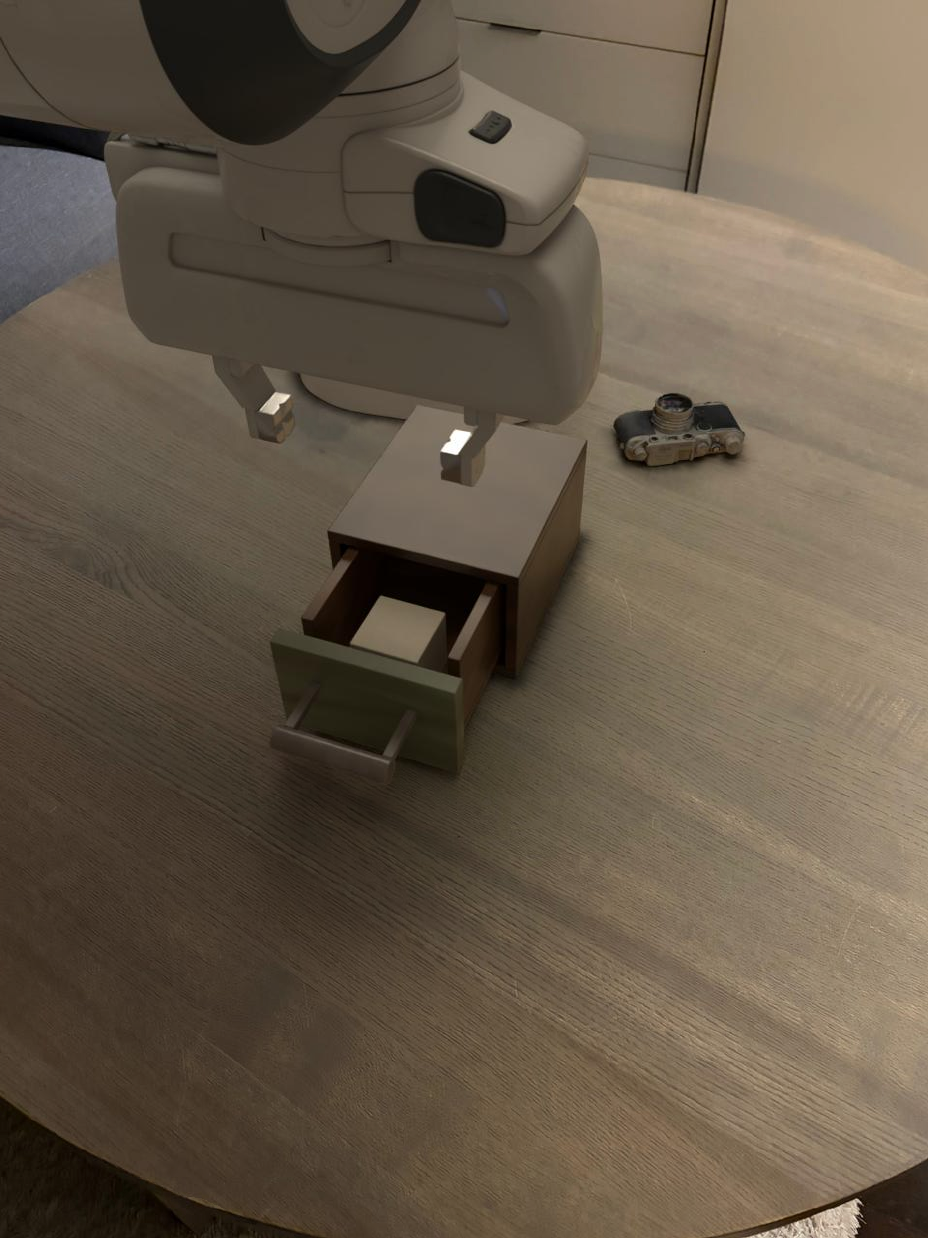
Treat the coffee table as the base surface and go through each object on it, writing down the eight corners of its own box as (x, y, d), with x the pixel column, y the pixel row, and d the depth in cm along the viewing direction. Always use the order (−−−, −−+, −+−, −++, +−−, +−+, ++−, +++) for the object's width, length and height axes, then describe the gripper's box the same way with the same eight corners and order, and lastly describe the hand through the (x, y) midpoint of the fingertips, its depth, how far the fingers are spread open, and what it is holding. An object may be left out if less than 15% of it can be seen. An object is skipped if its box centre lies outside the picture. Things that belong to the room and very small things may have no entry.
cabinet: (515, 679, 68) (519, 578, 62) (341, 631, 71) (326, 530, 65) (579, 540, 78) (587, 439, 71) (422, 503, 81) (416, 404, 74)
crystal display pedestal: (551, 441, 86) (561, 256, 75) (269, 399, 91) (238, 219, 79) (602, 294, 103) (617, 125, 91) (362, 265, 108) (348, 101, 96)
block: (420, 711, 64) (417, 662, 61) (355, 691, 65) (349, 643, 62) (447, 661, 67) (446, 612, 63) (385, 643, 68) (380, 594, 65)
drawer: (426, 841, 59) (420, 762, 53) (247, 783, 62) (225, 703, 56) (529, 620, 71) (533, 539, 65) (375, 580, 74) (367, 499, 68)
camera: (749, 457, 84) (758, 414, 81) (623, 470, 83) (628, 427, 80) (729, 421, 88) (738, 378, 85) (608, 432, 87) (613, 390, 84)
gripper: (44, 134, 38) (131, 447, 48) (584, 215, 33) (558, 547, 43) (140, 80, 42) (202, 377, 52) (632, 144, 37) (598, 461, 47)
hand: (366, 455), depth 47 cm, fingers open, 8 cm apart
